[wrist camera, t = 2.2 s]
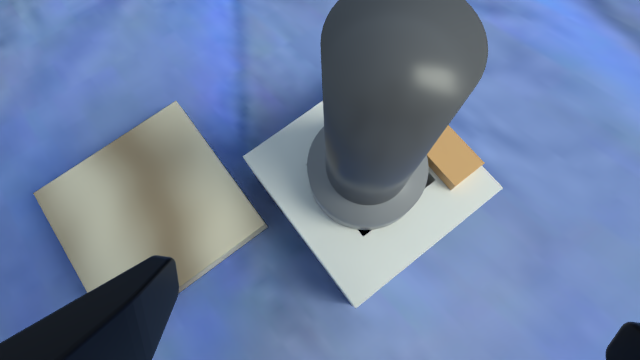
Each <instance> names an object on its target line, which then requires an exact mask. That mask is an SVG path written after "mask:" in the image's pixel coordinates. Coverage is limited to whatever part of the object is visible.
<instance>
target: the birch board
mask: <svg viewBox="0 0 640 360" xmlns="http://www.w3.org/2000/svg"><path fill="white" fill-rule="evenodd" d="M33 194H34V196H35V197H36V199H37V201H38V203H39V205H40V207H41V208H42V210H43V212H44V214H45V216H46V218H47V219H48V221H49V223H50V225H51V227H52V229H53V230H54V232H55V234H56V236H57V238H58V240H59V241H60V243H61V245H62V247H63V249H64V251H65V253H66V254H67V256H68V258H69V260H70V262H71V264H72V265H73V267H74V269H75V271H76V273H77V275H78V276H79V278H80V280H81V282H82V284H83V286H84V287H85V289H86V291H87V293H88V292H90V291H92V290H93V289H95V288H97V287H99V286H100V285H102V284H104V283H106V282H107V281H109V280H111V279H113V278H114V277H116V276H118V275H120V274H121V273H123V272H125V271H126V270H128V269H130V268H132V267H133V266H135V265H137V264H139V263H140V262H142V261H144V260H146V259H147V258H149V257H151V256H154V255H160V256H167V257H172V258H173V259H174V260H175V263H176V268H177V275H178V282H179V293H180V292H181V291H182V290H184V289H185V288H186V287H188V286H189V285H191V284H192V283H193V282H195V281H196V280H197V279H199V278H200V277H201V276H203V275H204V274H205V273H207V272H208V271H209V270H211V269H212V268H213V267H215V266H216V265H217V264H219V263H220V262H222V261H223V260H224V259H226V258H227V257H228V256H230V255H231V254H232V253H234V252H235V251H236V250H238V249H239V248H240V247H242V246H243V245H244V244H246V243H247V242H249V241H250V240H251V239H253V238H254V237H255V236H257V235H258V234H259V233H261V232H262V231H263V230H265V229H266V228H267V227H268V226H267V225H266V223H265V222H264V221H263V219H262V218H261V217H260V215H259V214H258V212H257V211H256V210H255V208H254V207H253V205H252V204H251V203H250V201H249V200H248V199H247V197H246V196H245V194H244V193H243V192H242V190H241V189H240V188H239V186H238V185H237V183H236V182H235V181H234V179H233V178H232V176H231V175H230V174H229V172H228V171H227V170H226V168H225V167H224V165H223V164H222V163H221V161H220V160H219V158H218V157H217V156H216V154H215V153H214V152H213V150H212V149H211V147H210V146H209V145H208V143H207V142H206V140H205V139H204V138H203V136H202V135H201V134H200V132H199V131H198V129H197V128H196V127H195V125H194V124H193V123H192V121H191V120H190V118H189V117H188V116H187V114H186V113H185V111H184V110H183V109H182V107H181V106H180V105H179V104H178V103H177V101H175V102H173V103H172V104H170V105H169V106H167V107H166V108H164V109H162V110H161V111H159V112H158V113H156V114H155V115H153V116H152V117H150V118H149V119H147V120H146V121H144V122H142V123H141V124H139V125H138V126H136V127H135V128H133V129H132V130H130V131H129V132H127V133H125V134H124V135H122V136H121V137H119V138H118V139H116V140H115V141H113V142H112V143H110V144H109V145H107V146H105V147H104V148H102V149H101V150H99V151H98V152H96V153H95V154H93V155H92V156H90V157H88V158H87V159H85V160H84V161H82V162H81V163H79V164H78V165H76V166H75V167H73V168H72V169H70V170H68V171H67V172H65V173H64V174H62V175H61V176H59V177H58V178H56V179H55V180H53V181H51V182H50V183H48V184H47V185H45V186H44V187H42V188H41V189H39V190H38V191H36V192H35V193H33Z"/></svg>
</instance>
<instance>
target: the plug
mask: <svg viewBox="0 0 640 360" xmlns="http://www.w3.org/2000/svg"><path fill="white" fill-rule="evenodd" d="M487 56H488V43H487V37H486V33H485V30H484V27H483V25H482V22H481V20H480V19H479V17H478V15H477V14H476V12H475V11H474V10H473V8H472V7H471V6H470V5H469V4H468V3H467V2H466V1H465V0H339V1H338V2H337V3H336V4H335V5H334V7H333V8H332V9H331V11H330V13H329V14H328V16H327V18H326V20H325V23H324V25H323V30H322V34H321V65H322V89H323V114H324V127H323V128H322V129H321V130H320V131H319V132H318V134H317V135H316V137H315V138H314V140H313V142H312V144H311V147H310V149H309V154H308V159H307V172H308V178H309V183H310V188H311V191H312V194H313V197H314V199H315V201H316V202H317V204H318V205H319V207H320V208H321V209H322V210H323V212H324V213H325V214H326V215H328V216H329V217H330V218H331V219H333V220H334V221H336V222H337V223H339V224H341V225H343V226H346V227H349V228H353V229H358V230H374V229H379V228H383V227H386V226H389V225H391V224H393V223H395V222H396V221H398V220H399V219H400V218H402V217H403V216H404V215H405V214H406V213H407V212H408V211H409V210H410V209H411V208H412V207H413V206H414V205H415V204H416V202H417V201H418V200H419V198H420V197H421V195H422V193H423V191H424V189H425V187H426V183H427V179H428V158H427V154H428V152H429V151H430V150H431V148H432V147H433V145H434V144H435V143H436V141H437V140H438V138H439V137H440V136H441V134H442V133H443V131H444V130H445V129H446V127H447V126H448V124H449V123H450V122H451V120H452V119H453V117H454V116H455V115H456V113H457V112H458V111H459V109H460V108H461V106H462V105H463V104H464V102H465V101H466V99H467V98H468V97H469V95H470V94H471V92H472V91H473V90H474V88H475V87H476V85H477V84H478V82H479V80H480V79H481V77H482V75H483V72H484V70H485V67H486V63H487Z"/></svg>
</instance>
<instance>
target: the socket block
mask: <svg viewBox="0 0 640 360" xmlns="http://www.w3.org/2000/svg"><path fill="white" fill-rule="evenodd" d="M323 127H324V114H323V101H322V102H320V103H319V104H317V105H316V106H314V107H313V108H312V109H310V110H309V111H307V112H306V113H304V114H303V115H302V116H300V117H299V118H297V119H296V120H294V121H293V122H292V123H290V124H289V125H287V126H286V127H284V128H283V129H281V130H280V131H279V132H277V133H276V134H274V135H273V136H271V137H270V138H269V139H267V140H266V141H264V142H263V143H261V144H260V145H259V146H257V147H256V148H254V149H253V150H251V151H250V152H248V153H247V154H246V155H244V156H243V158H244V159H245V161H246V162H247V164H248V165H249V167H250V168H251V170H252V171H253V173H254V175H255V176H256V177H257V179H258V180H259V181H260V183H261V184H262V185H263V187H264V188H265V189H266V191H267V192H268V193H269V195H270V196H271V197H272V199H273V200H274V201H275V203H276V204H277V205H278V207H279V208H280V209H281V211H282V212H283V214H284V215H285V216H286V218H287V219H288V220H289V222H290V223H291V224H292V226H293V227H294V228H295V230H296V231H297V232H298V234H299V235H300V236H301V238H302V239H303V240H304V242H305V243H306V244H307V246H308V247H309V248H310V250H311V251H312V252H313V254H314V255H315V257H316V258H317V259H318V261H319V262H320V263H321V265H322V266H323V267H324V269H325V270H326V271H327V273H328V274H329V275H330V277H331V278H332V279H333V281H334V282H335V283H336V285H337V286H338V287H339V289H340V290H341V291H342V293H343V294H344V295H345V297H346V298H347V299H348V301H349V302H350V304H351V305H352V306H353V307H355V308H357V307H358V306H359V305H361V304H362V303H363V302H364V301H366V300H367V299H368V298H369V297H370V296H372V295H373V294H374V293H375V292H377V291H378V290H379V289H380V288H381V287H383V286H384V285H385V284H386V283H388V282H389V281H390V280H391V279H392V278H394V277H395V276H396V275H397V274H399V273H400V272H401V271H402V270H403V269H405V268H406V267H407V266H408V265H410V264H411V263H412V262H413V261H414V260H416V259H417V258H418V257H419V256H421V255H422V254H423V253H424V252H425V251H427V250H428V249H429V248H430V247H432V246H433V245H434V244H435V243H436V242H438V241H439V240H440V239H441V238H443V237H444V236H445V235H446V234H447V233H449V232H450V231H451V230H452V229H454V228H455V227H456V226H457V225H458V224H460V223H461V222H462V221H463V220H465V219H466V218H467V217H468V216H469V215H471V214H472V213H473V212H474V211H476V210H477V209H478V208H479V207H480V206H482V205H483V204H484V203H485V202H487V201H488V200H489V199H490V198H491V197H493V196H494V195H495V194H496V193H498V192H499V191H500V190H501V189H502V188H503V187H502V186H501V185H500V184H499V183H498V182H497V181H496V180H495V179H494V178H493V177H492V176H491V175H490V174H489V173H488V172H487V171H486V169H485V168H484V167H483V166H482V165H483V164H484V162H483V161H482V160H481V159H480V158H479V157H478V156H477V155H476V154H475V153H474V152H473V150H472V149H471V148H470V147H469V146H468V145H467V144H466V143H465V142H464V141H463V140H462V139H461V138H460V137H459V136H458V135H457V134H456V133H455V132H454V131H453V129H452V128H451V127H450V126H449V125H448V126H447V127H446V129H445V130H444V131H443V133H442V134H441V136H440V137H439V138H438V140H437V141H436V143H435V144H434V145H433V147H432V148H431V150H430V151H429V152H428V154H427V158H428V179H427V183H426V187H425V189H424V191H423V193H422V195H421V197H420V198H419V200H418V201H417V202H416V204H415V205H414V206H413V207H412V208H411V209H410V210H409V211H408V212H407V213H406V214H405V215H404V216H403V217H402V218H400V219H399V220H398V221H396V222H395V223H393V224H391V225H389V226H386V227H383V228H379V229H374V230H371V231H370V232H369V233H367V234H366V235H365V236H362V235H361V233H360V232H359V231H358V229H353V228H349V227H346V226H343V225H341V224H339V223H337V222H336V221H334V220H333V219H331V218H330V217H329V216H328V215H326V214H325V213H324V212H323V210H322V209H321V208H320V207H319V205H318V204H317V202H316V201H315V199H314V197H313V194H312V191H311V188H310V183H309V178H308V172H307V159H308V154H309V149H310V147H311V144H312V142H313V140H314V138H315V137H316V135H317V134H318V132H319V131H320V130H321V129H322V128H323Z"/></svg>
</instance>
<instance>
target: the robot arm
mask: <svg viewBox="0 0 640 360" xmlns="http://www.w3.org/2000/svg"><path fill="white" fill-rule="evenodd" d="M178 293H179V282H178V275H177V268H176V263H175V260H174V259H173V258H172V257H167V256H160V255H154V256H151V257H149V258H147V259H146V260H144V261H142V262H140V263H139V264H137V265H135V266H133V267H132V268H130V269H128V270H126V271H125V272H123V273H121V274H120V275H118V276H116V277H114V278H113V279H111V280H109V281H107V282H106V283H104V284H102V285H100V286H99V287H97V288H95V289H93V290H92V291H90V292H88V293H86V294H85V295H83V296H81V297H80V298H78V299H76V300H74V301H73V302H71V303H69V304H67V305H66V306H64V307H62V308H60V309H59V310H57V311H55V312H53V313H52V314H50V315H48V316H46V317H45V318H43V319H41V320H40V321H38V322H36V323H34V324H33V325H31V326H29V327H27V328H26V329H24V330H22V331H20V332H19V333H17V334H15V335H13V336H12V337H10V338H8V339H6V340H5V341H3V342H1V343H0V360H152V358H153V356H154V353H155V351H156V349H157V346H158V344H159V341H160V339H161V336H162V334H163V331H164V329H165V326H166V324H167V321H168V319H169V317H170V314H171V312H172V309H173V307H174V304H175V302H176V299H177V297H178ZM606 360H640V323H637V322H627V323H625V324H623V326H622V327H621V328H620V330H619V331H618V332H617V334H616V335H615V337H614V338H613V340H612V341H611V342H610V344H609V345H608V347H607V349H606Z"/></svg>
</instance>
